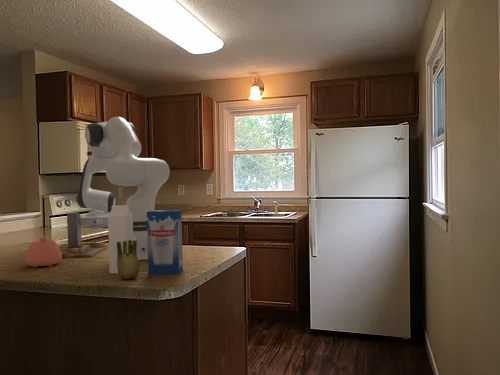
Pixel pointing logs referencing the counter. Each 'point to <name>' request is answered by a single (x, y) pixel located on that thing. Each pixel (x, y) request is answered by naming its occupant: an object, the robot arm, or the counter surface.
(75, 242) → the bar
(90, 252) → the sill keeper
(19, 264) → the counter surface
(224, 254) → the counter surface
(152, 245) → the milk carton
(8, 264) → the counter surface
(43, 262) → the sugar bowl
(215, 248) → the counter surface
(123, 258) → the fennel bulb
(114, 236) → the milk
